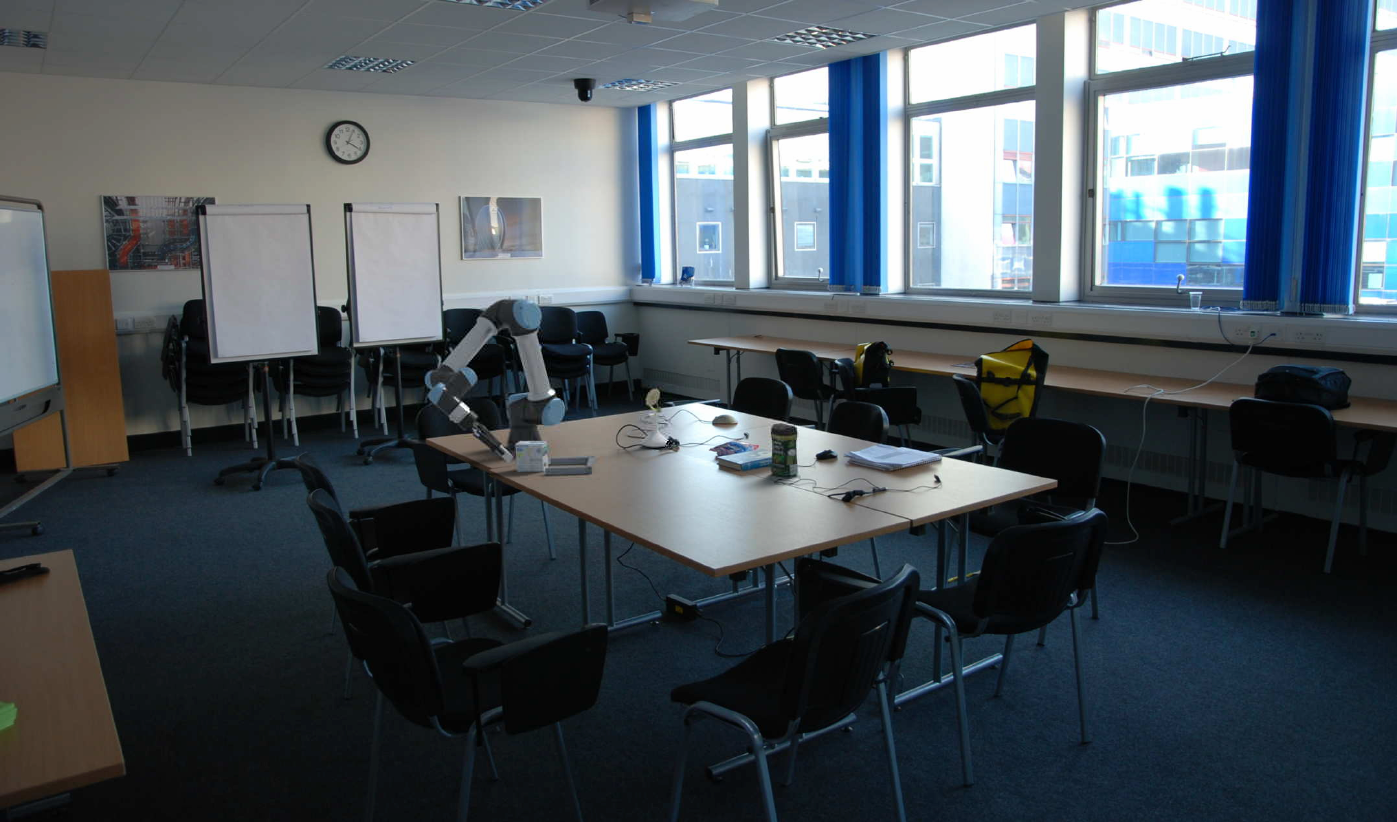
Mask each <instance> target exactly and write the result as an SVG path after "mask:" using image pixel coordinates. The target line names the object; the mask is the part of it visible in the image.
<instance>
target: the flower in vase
mask: <svg viewBox="0 0 1397 822" xmlns="http://www.w3.org/2000/svg"><path fill="white" fill-rule="evenodd" d="M660 394H661V392H660V390H658V389H657V388H655V389H654V388H653V389H651V390H650V391H649V392H648V393H647V395H646V398H645V401H646V402H645V404H646V406H648V407H650V409H651V410H653V411H654V413H653V412H652V413H649V414H648V416H649V417H650V419H651V424H652V425H651V426H652V430H651V432H650V433H649V434H648V435H646V437H645V438H644V439H643V440H642V442H641V444H642V446H645V447H646V448H661V447H666V446H665V444H666V443H667V441H669V440H668V439H667V437H666V436H664V435H662V434H661V432H660V431H659V424H658V423H659V418H660V417H661V415H662V414H661V413H662V409H661V407H660V406H659V404H658V401H659V399H660ZM655 404H656V408H654V407H653V406H654V405H655Z"/></svg>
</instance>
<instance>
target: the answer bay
mask: <svg viewBox="0 0 1397 822" xmlns="http://www.w3.org/2000/svg"><path fill="white" fill-rule="evenodd" d="M549 460H550V465H551V466H548V467H546V468H545V471H544V473H545V476H561V475H565V474H566V475H592V474H593V471H594V468H593V467H594V466H595V463H596V457H595V456H594V455H592V456H591V455H589V456H587V455H586V456H563V457H562V456H560V457H559V456H557V457H550V459H549ZM557 465H559V466H557ZM562 465H564V466H562ZM565 465H575V466H565ZM576 465H578V466H576ZM579 465H580V466H579ZM581 465H582V466H581Z"/></svg>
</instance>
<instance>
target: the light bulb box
mask: <svg viewBox="0 0 1397 822" xmlns="http://www.w3.org/2000/svg"><path fill="white" fill-rule="evenodd" d="M547 443H548V442H547V441H546V440H542V441H520V442H518V443H516V444H515V447H516V450H515V464H516V472H517V473H518V472H521V473H522V472H523V473H525V472H537V473H538V472H541V473H542V472H545V468H546V467H549V463H548V462H549V459H548V458H549V457H548V444H547Z"/></svg>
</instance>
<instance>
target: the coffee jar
mask: <svg viewBox="0 0 1397 822" xmlns="http://www.w3.org/2000/svg"><path fill="white" fill-rule="evenodd" d="M798 434H799V433H798V428H797V427H796V426H795V425H790V424H786V423H782V422H781V423H780V422H779V423H774V424H772V425H771V428H770V438H771V461H770V462H771V465H770V467H771V468H770V472H771V474H772V475H775V476H779V477H784V478H785V477H788V478H790V477H789V476H792V477H794V476H797V475H798V474H799V471H798V469H799V468H798V454H797V453H798V449H797V441H798Z"/></svg>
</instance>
